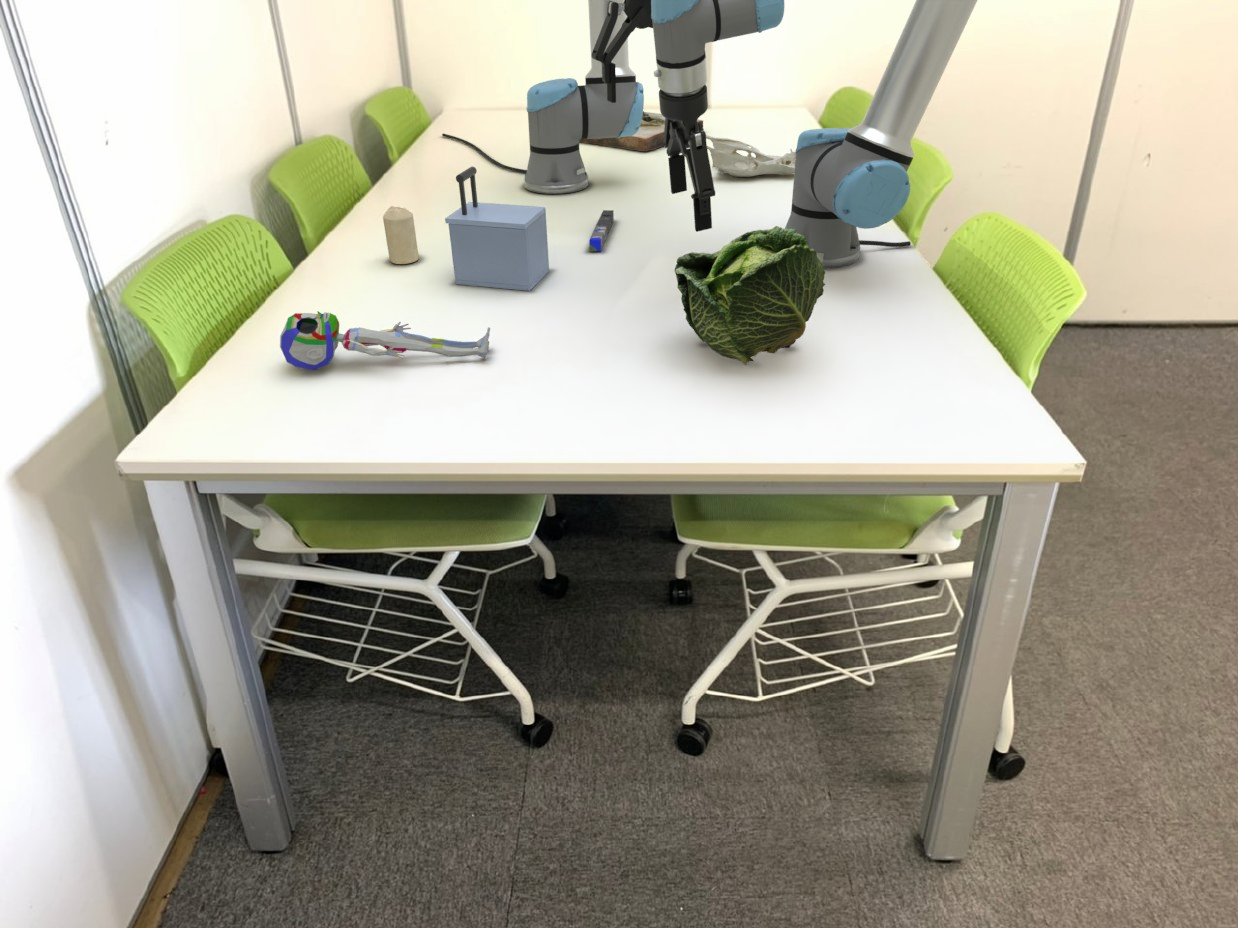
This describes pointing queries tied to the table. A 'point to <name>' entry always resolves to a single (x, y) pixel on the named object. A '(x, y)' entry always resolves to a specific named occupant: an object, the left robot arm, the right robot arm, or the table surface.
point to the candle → (400, 235)
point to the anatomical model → (748, 159)
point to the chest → (500, 255)
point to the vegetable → (751, 292)
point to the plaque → (640, 135)
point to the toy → (360, 341)
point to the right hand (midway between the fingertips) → (690, 210)
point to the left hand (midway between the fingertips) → (646, 99)
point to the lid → (490, 209)
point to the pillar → (601, 230)
